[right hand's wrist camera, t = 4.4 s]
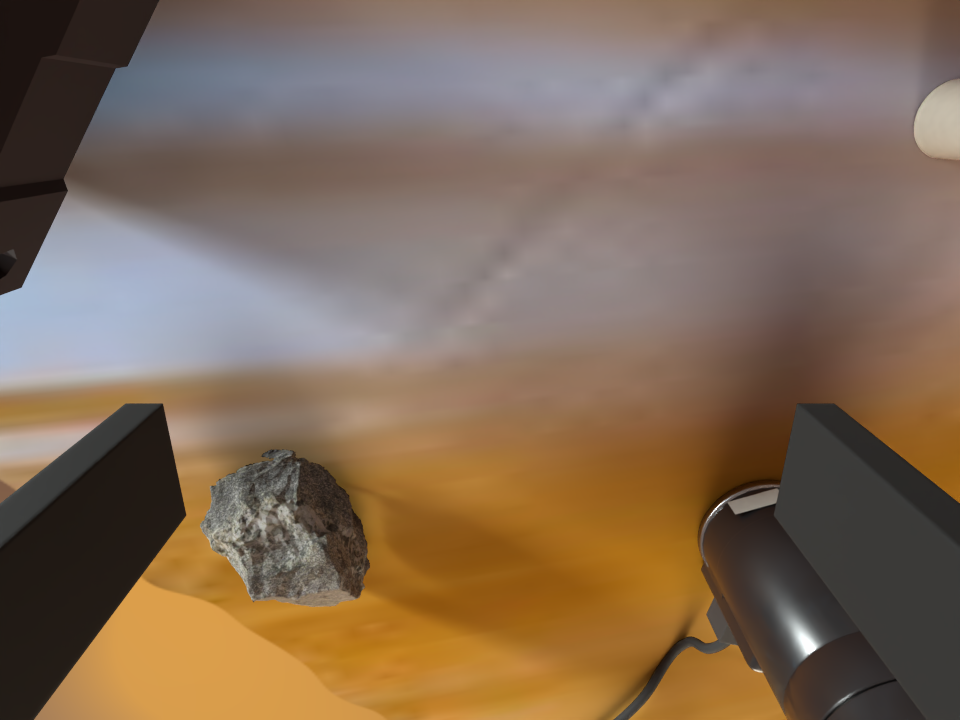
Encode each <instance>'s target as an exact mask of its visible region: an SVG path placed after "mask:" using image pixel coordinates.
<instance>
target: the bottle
mask: <svg viewBox="0 0 960 720" xmlns="http://www.w3.org/2000/svg"><path fill="white" fill-rule="evenodd" d="M914 137H915V141H916V143H917V145H918V147H919V148H920V149H921V151H922V152H923V153H925V154H926V155H928V156H929V157H932V158H936V159H944V160H957V161H960V78H957V79H953V80H950V81H947V82H945V83H943V84H942V85H940V86H938V87H937V88H936V89H934V90H933V91H932V92H931V93H930V94H929V95H928V96H927V97H926V98H925V100H924V101H923V103H922V104H921V106H920V108H919V109H918V112H917V114H916V117H915V121H914Z"/></svg>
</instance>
